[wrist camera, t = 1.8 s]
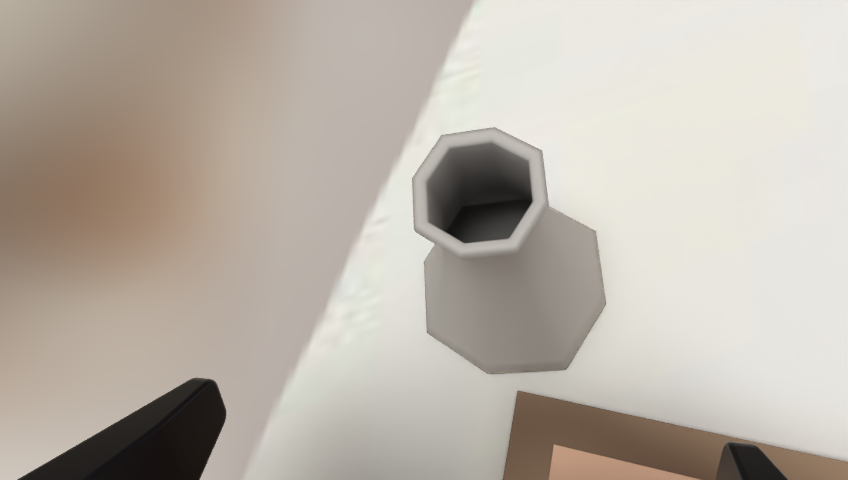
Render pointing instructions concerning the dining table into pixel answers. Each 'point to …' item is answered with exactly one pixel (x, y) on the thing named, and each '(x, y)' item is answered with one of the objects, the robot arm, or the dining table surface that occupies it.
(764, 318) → the dining table surface
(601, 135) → the dining table surface
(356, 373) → the dining table surface
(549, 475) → the walnut board
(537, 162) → the flask
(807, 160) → the dining table surface
